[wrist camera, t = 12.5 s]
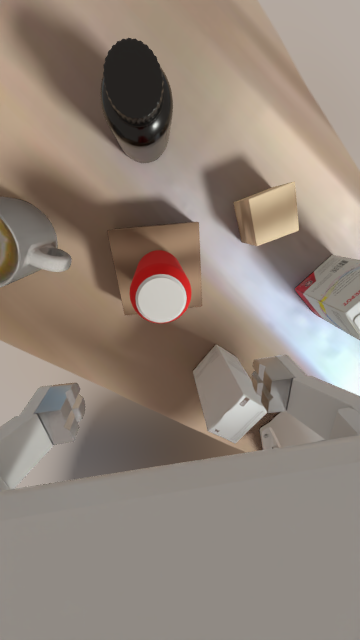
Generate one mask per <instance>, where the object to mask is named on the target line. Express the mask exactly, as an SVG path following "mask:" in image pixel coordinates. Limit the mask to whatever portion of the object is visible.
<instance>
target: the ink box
mask: <svg viewBox="0 0 360 640" xmlns="http://www.w3.org/2000/svg"><path fill="white" fill-rule="evenodd" d="M295 291H296V292H297V293H298V295H299V296H300V297H301V298H302V300H303V301H304V302H305V303H306V304H307V306H308V307H309V308H310V309H311V310H312V311H313V312H314V313H315V314H316V315H317V316H319V317H320V318H322V319H324V320H326V321H327V322H329V323H331V324H333V325H334V326H336V327H338V328H339V329H341V330H343V331H345V332H346V333H348V334H350V335H351V336H353V337H355V338H357V339H359V340H360V260H356V259H351V258H346V257H341V256H336V255H331V256H330V257H329V258H328V259H327V260H326V261H325V262H324V263H322V264H321V265H320V266H319V267H318V268H317V269H316V270H315V271H314V272H313V273H312V274H310V275H309V276H308V277H307V278H306V279H305V280H304V281H303V282H302V283H300V284H299V285H298V286H297V287H296V288H295Z"/></svg>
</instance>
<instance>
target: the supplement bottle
mask: <svg viewBox="0 0 360 640" xmlns="http://www.w3.org/2000/svg"><path fill="white" fill-rule="evenodd" d="M101 104H102V109H103V112H104V115H105V118H106V120H107V123H108V125H109V126H110V128H111V130H112V132H113V134H114V136H115V138H116V140H117V141H118V143H119V145H120V147H121V148H122V150H123V151H124V152H125V154H126V155H127V156H128V157H130V158H131V159H133V160H134V161H137V162H140V163H149V162H153V161H155V160H156V159H158V158H159V157H160V156H161V155H162V154H163V152H164V150H165V148H166V146H167V143H168V139H169V133H170V126H171V119H172V112H173V100H172V92H171V88H170V85H169V82H168V79H167V77H166V75H165V73H164V72H163V70H162V68H161V67H160V64H159V63H158V62H157V57H156V56H155V55H154V54H153V51H152V50H150V49H149V48H148V46H147V45H145V44H143V42H142V41H137V40H136V39H131V38H128V39H122V40H121V41H117V43H116V45H113V46H112V48H111V50H109V51H108V56H107V57H106V58H105V64H104V72H103V78H102V83H101Z"/></svg>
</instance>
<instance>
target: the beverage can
mask: <svg viewBox="0 0 360 640" xmlns="http://www.w3.org/2000/svg"><path fill="white" fill-rule="evenodd" d="M190 300H191V285H190V282H189V280H188V278H187V276H186V274H185V272H184V271H183V269H182V267H181V265H180V263H179V262H178V260H177V259H176V258H175V257H174V256H173V255H172V254H170V253H169V252H166V251H162V250H156V251H152V252H149V253H147V254H146V255H145V256H143V257H142V259H141V260H140V261H139V263H138V266H137V269H136V271H135V274H134V277H133V280H132V283H131V286H130V301H131V304H132V306H133V308H134V310H135V311H136V312H137V313H138V315H140V316H141V317H142V318H143V319H145V320H147V321H150V322H153V323H168V322H171V321H174V320H176V319H177V318H179V317H180V316H181V315H182V314H183V313H184V312H185V311H186V309H187V308H188V306H189V303H190Z"/></svg>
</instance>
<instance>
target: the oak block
mask: <svg viewBox="0 0 360 640" xmlns="http://www.w3.org/2000/svg"><path fill="white" fill-rule="evenodd" d="M233 203H234V208H235V213H236V218H237V222H238V227H239V232H240V237H241V242H243V243H247V244H251V245H254V246H259V245H262V244H264V243H267V242H270V241H272V240H275V239H278V238H280V237H283V236H286V235H288V234H291V233H294V232H296V231H299V225H298V214H297V202H296V191H295V182H291V183H287V184H283V185H280V186H276V187H272V188H269V189H267V190H264V191H262V192H259V193H256V194H254V195H251V196H249V197H246V198H244V199H241V200H238V201H236V202H233Z"/></svg>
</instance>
